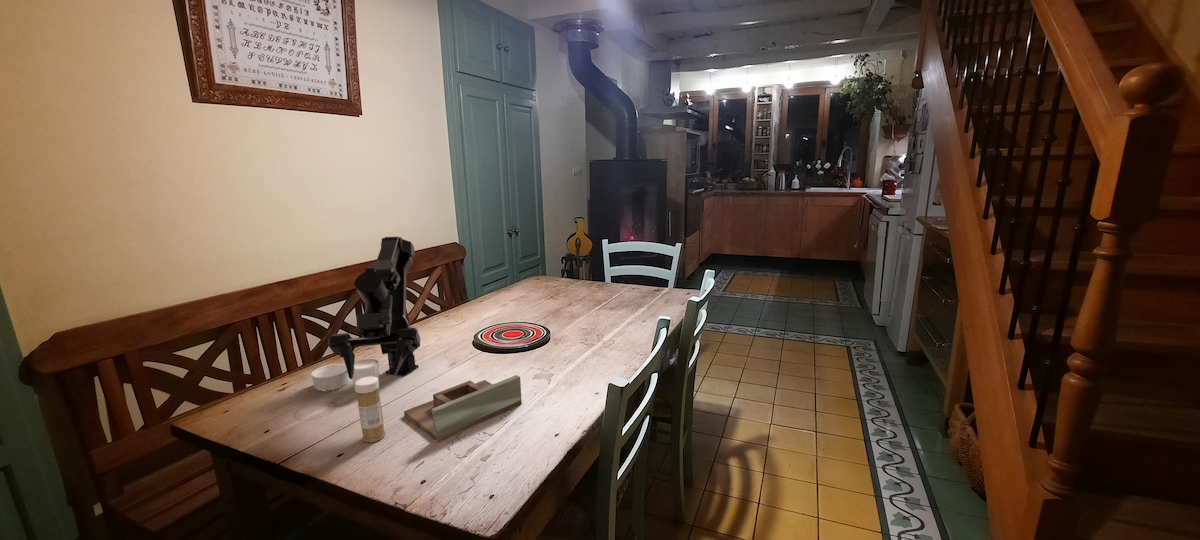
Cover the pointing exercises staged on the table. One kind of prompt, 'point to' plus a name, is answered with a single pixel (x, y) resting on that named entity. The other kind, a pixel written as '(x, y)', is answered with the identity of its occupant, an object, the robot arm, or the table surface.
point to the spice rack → (465, 406)
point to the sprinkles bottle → (370, 408)
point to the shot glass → (365, 369)
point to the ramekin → (330, 377)
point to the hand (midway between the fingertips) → (373, 376)
